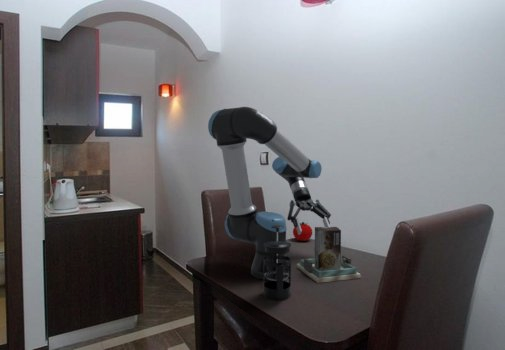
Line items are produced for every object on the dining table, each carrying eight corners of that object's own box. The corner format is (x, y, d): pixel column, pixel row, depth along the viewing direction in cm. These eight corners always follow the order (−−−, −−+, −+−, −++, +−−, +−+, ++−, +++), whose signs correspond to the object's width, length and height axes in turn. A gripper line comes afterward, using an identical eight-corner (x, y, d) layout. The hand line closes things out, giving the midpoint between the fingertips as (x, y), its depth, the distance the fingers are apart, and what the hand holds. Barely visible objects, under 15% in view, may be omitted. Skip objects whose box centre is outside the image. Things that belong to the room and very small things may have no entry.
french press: (260, 288, 121) (261, 222, 119) (287, 287, 122) (288, 222, 120) (265, 303, 109) (265, 230, 108) (294, 302, 110) (295, 229, 109)
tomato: (305, 244, 181) (305, 225, 181) (288, 240, 188) (289, 222, 188) (316, 240, 189) (316, 222, 188) (300, 237, 196) (300, 219, 196)
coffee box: (336, 266, 141) (336, 226, 140) (341, 271, 135) (341, 229, 134) (313, 266, 141) (314, 226, 140) (317, 271, 134) (318, 230, 133)
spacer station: (317, 282, 126) (317, 268, 126) (296, 267, 144) (297, 254, 143) (360, 278, 132) (361, 263, 131) (335, 263, 149) (335, 251, 149)
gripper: (322, 197, 168) (337, 235, 155) (273, 198, 161) (285, 238, 148) (327, 187, 163) (344, 225, 149) (277, 188, 156) (290, 228, 142)
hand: (315, 232), depth 148 cm, fingers open, 13 cm apart
